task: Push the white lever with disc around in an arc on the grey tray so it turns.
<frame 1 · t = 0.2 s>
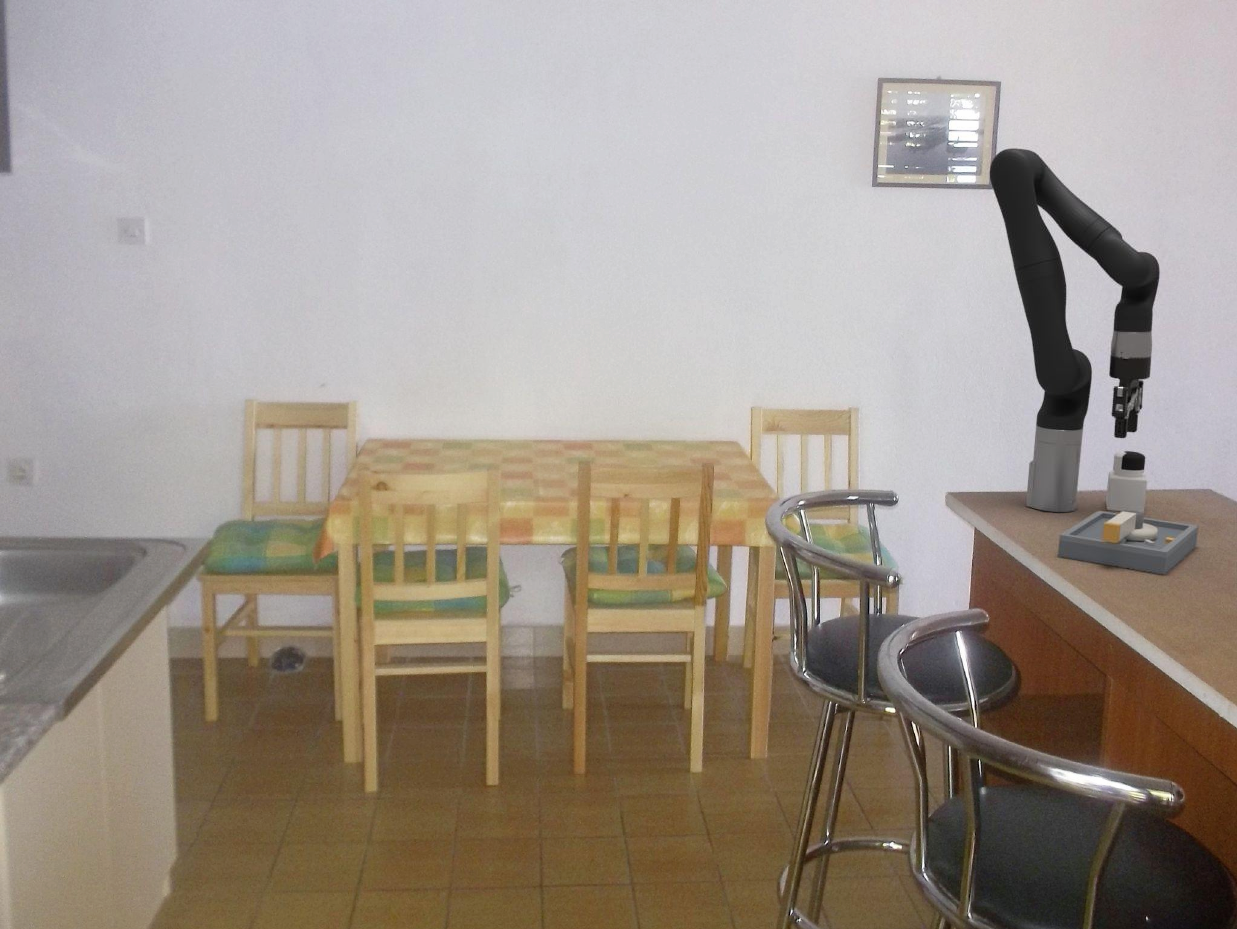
hand: (1125, 434, 246), 17 cm above the bar counter, tool pointing down, fingers open, 8 cm apart
white lever with disc: (1124, 527, 220), point 5 cm above the bar counter, hinge at 0.0°
grey tray: (1128, 551, 224), on the bar counter
medicine bottle: (1124, 509, 259), on the bar counter
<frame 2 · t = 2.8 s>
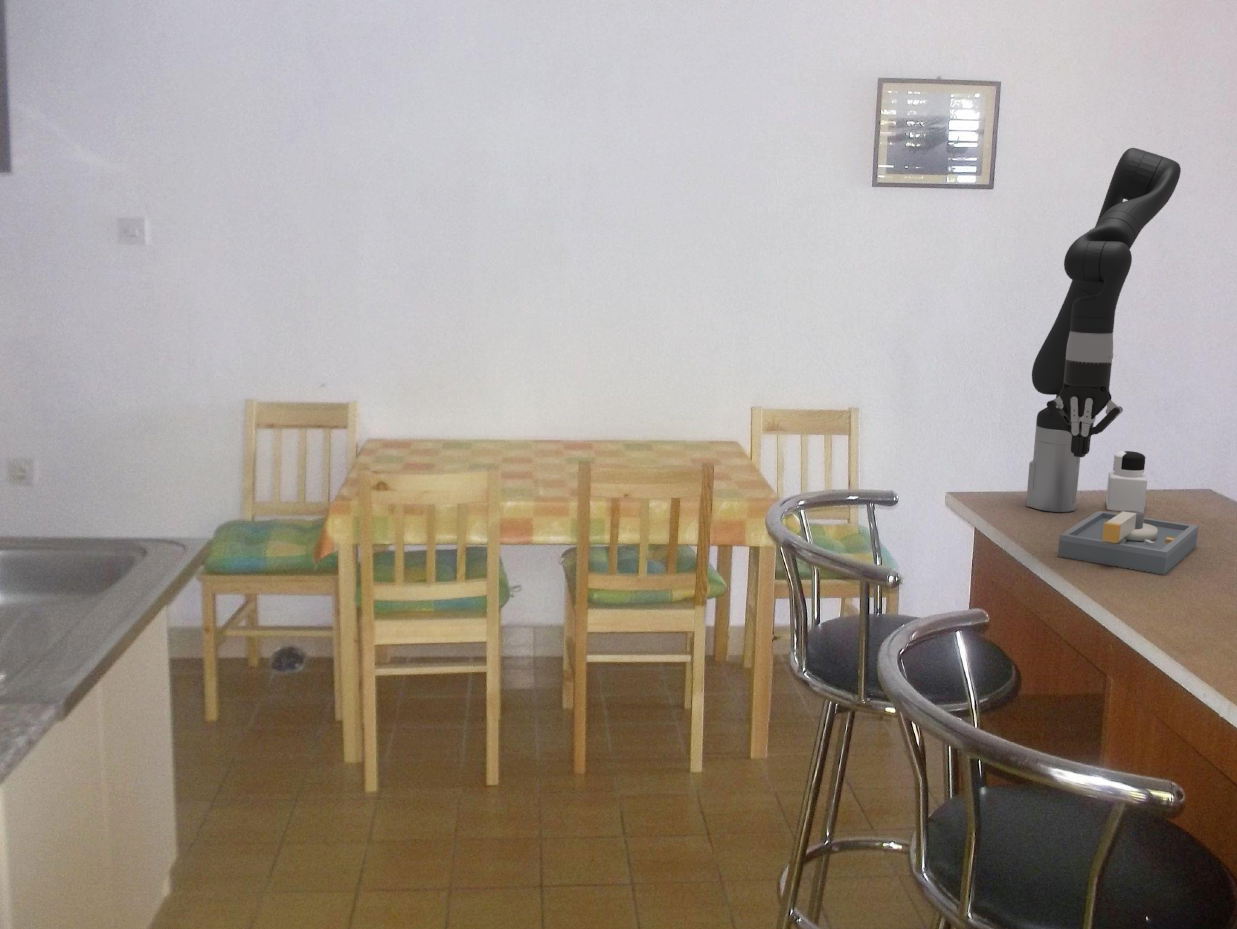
hand: (1079, 456, 216), 18 cm above the bar counter, tool pointing down, fingers closed
nothing on the bar counter moved.
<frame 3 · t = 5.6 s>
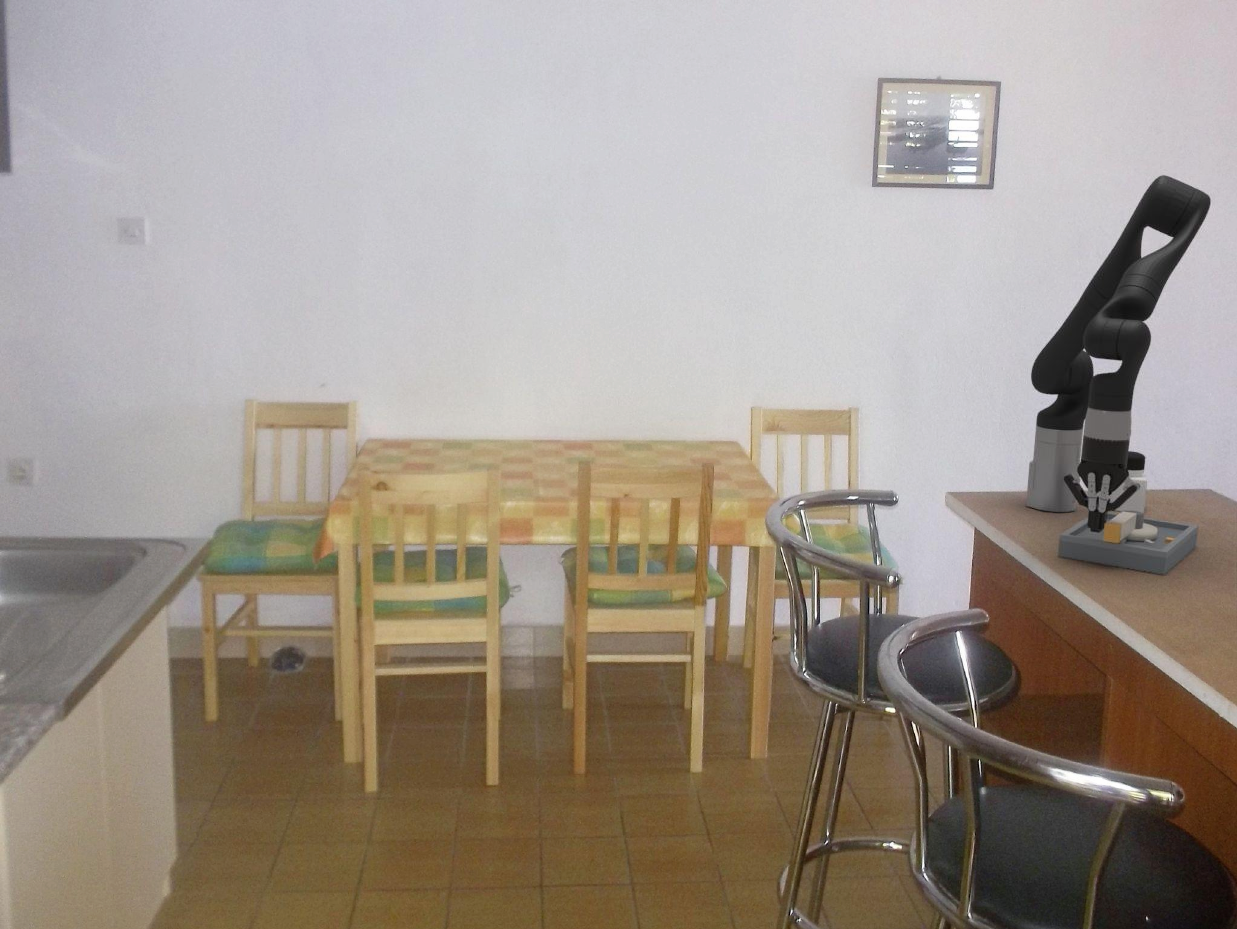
hand: (1096, 531, 216), 6 cm above the bar counter, tool pointing down, fingers closed
white lever with disc: (1124, 527, 220), point 5 cm above the bar counter, hinge at 0.7°, touching gripper
everything else where it was.
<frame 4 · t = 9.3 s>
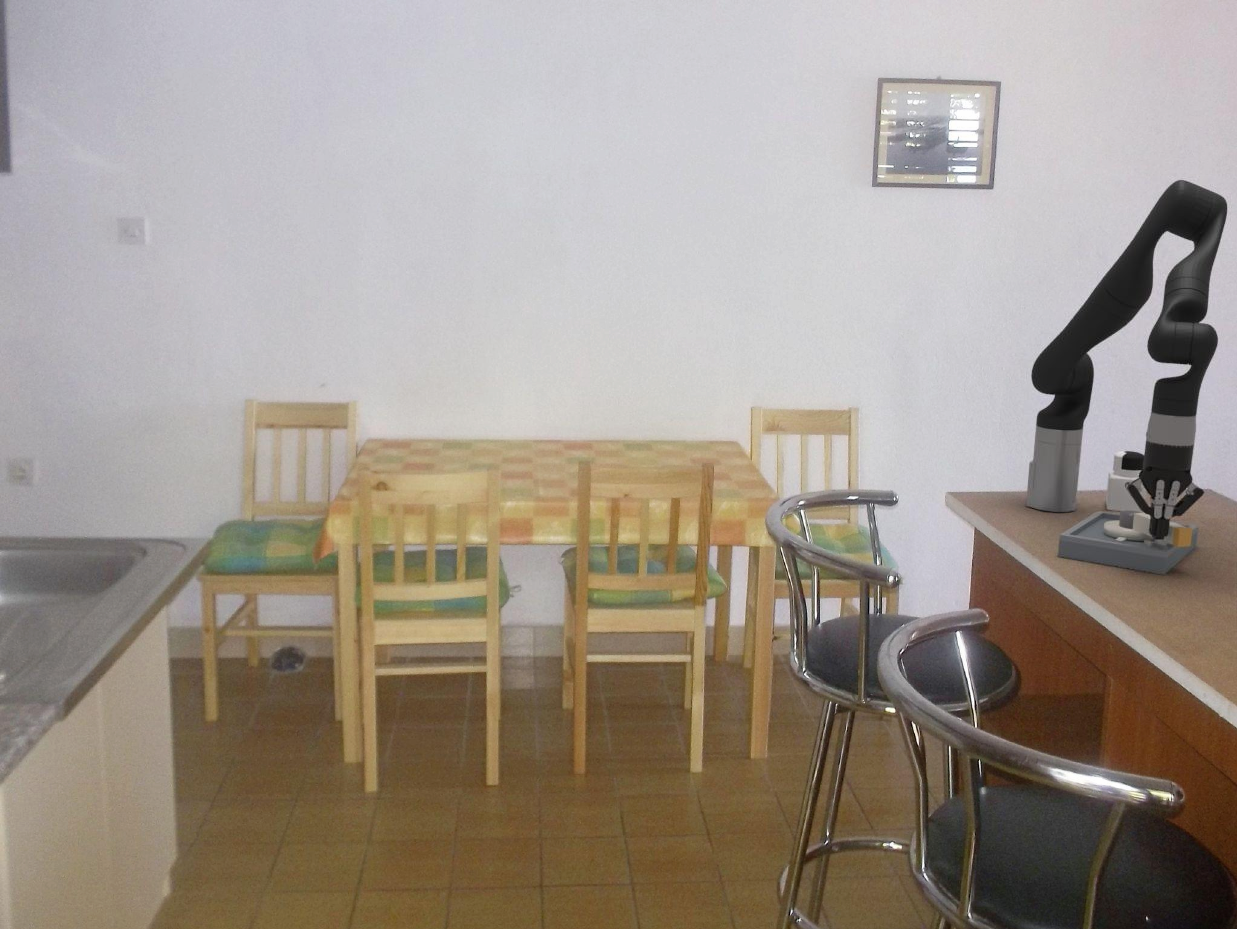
hand: (1157, 538, 212), 6 cm above the bar counter, tool pointing down, fingers closed
white lever with disc: (1148, 528, 219), point 5 cm above the bar counter, hinge at 52.1°, touching gripper
everything else where it was.
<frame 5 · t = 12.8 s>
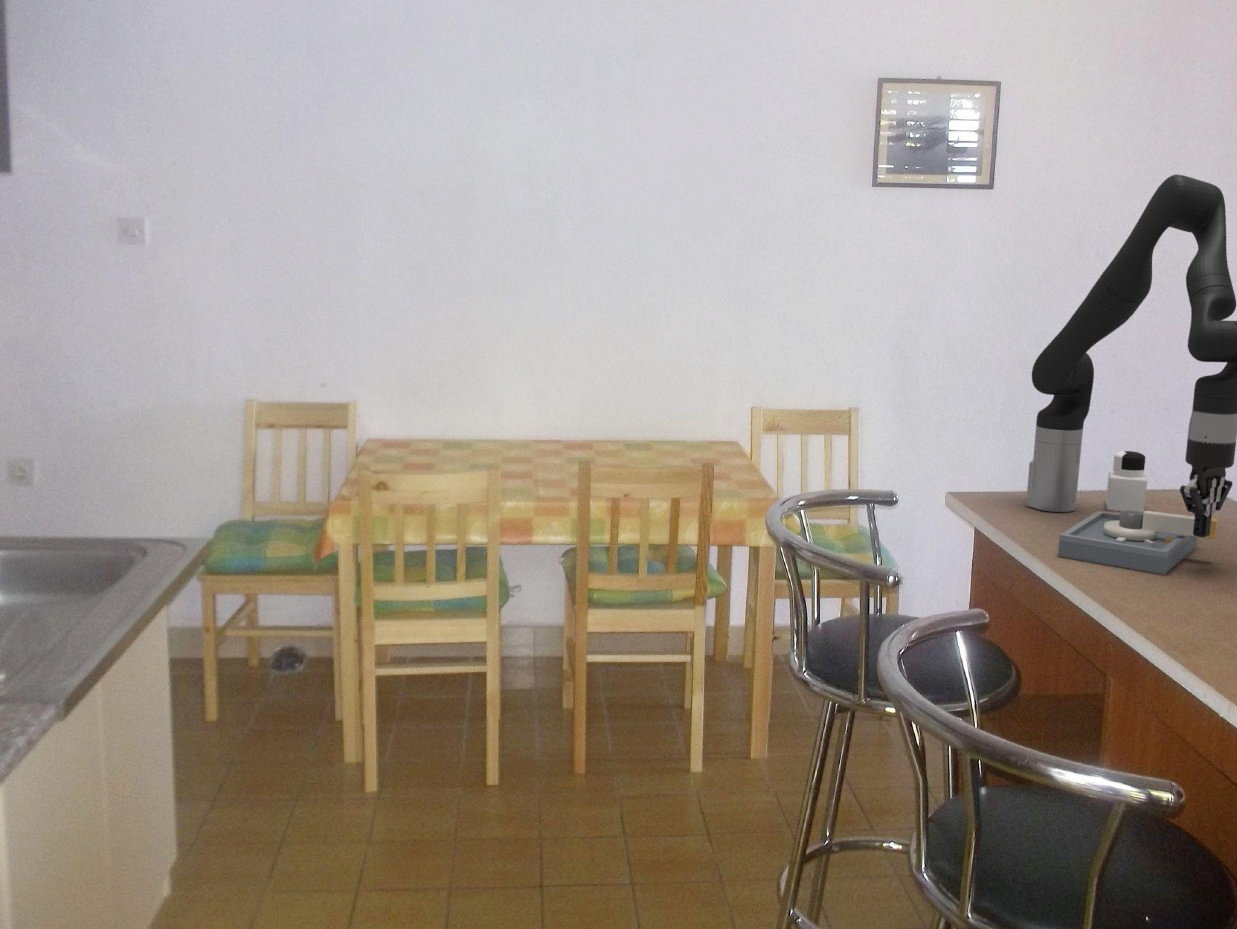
hand: (1201, 535, 213), 6 cm above the bar counter, tool pointing down, fingers closed
white lever with disc: (1159, 525, 221), point 5 cm above the bar counter, hinge at 97.6°
everything else where it was.
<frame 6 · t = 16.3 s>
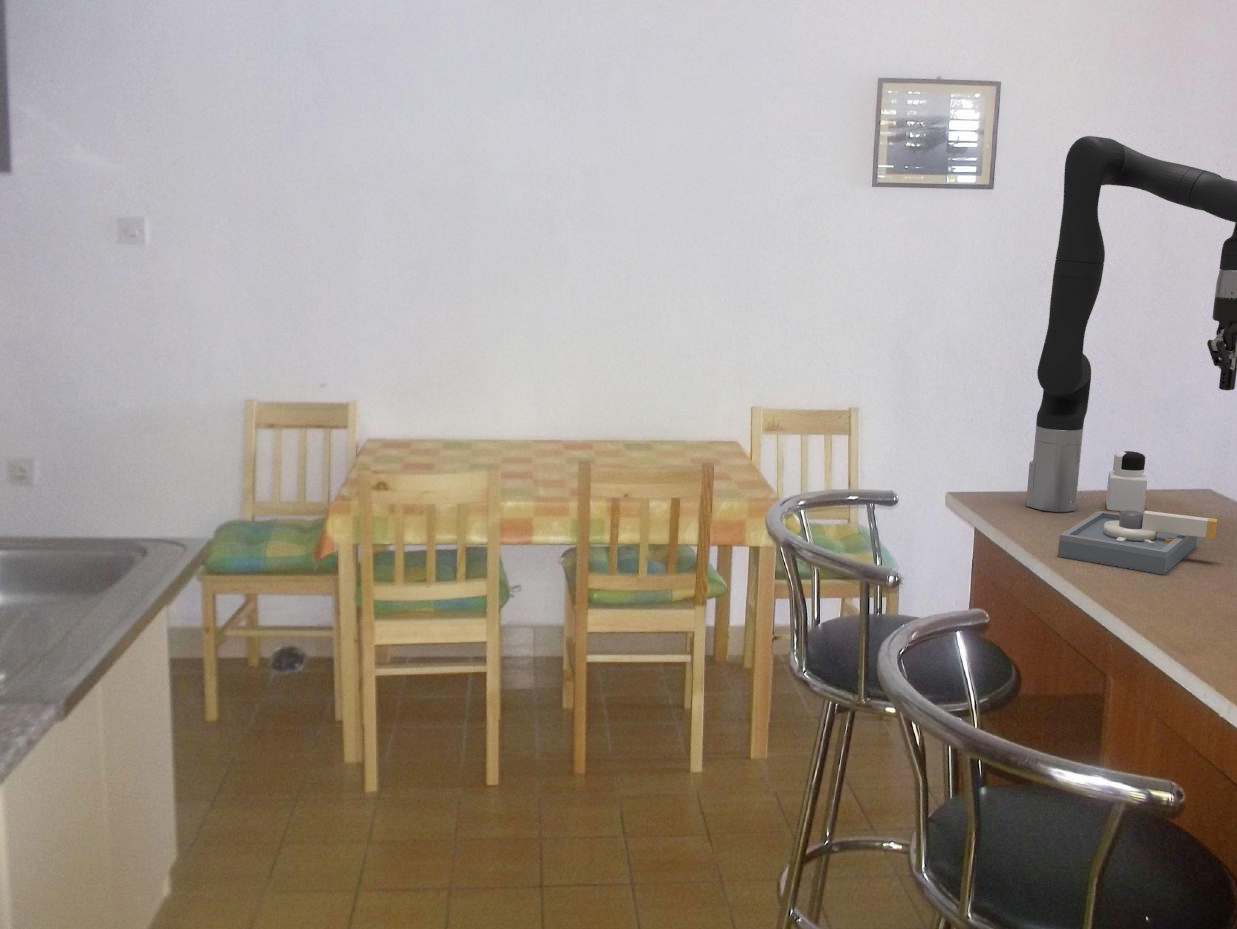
hand: (1226, 389, 227), 29 cm above the bar counter, tool pointing down, fingers closed
nothing on the bar counter moved.
at the end: white lever with disc at +98° (first picture: +0°) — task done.
